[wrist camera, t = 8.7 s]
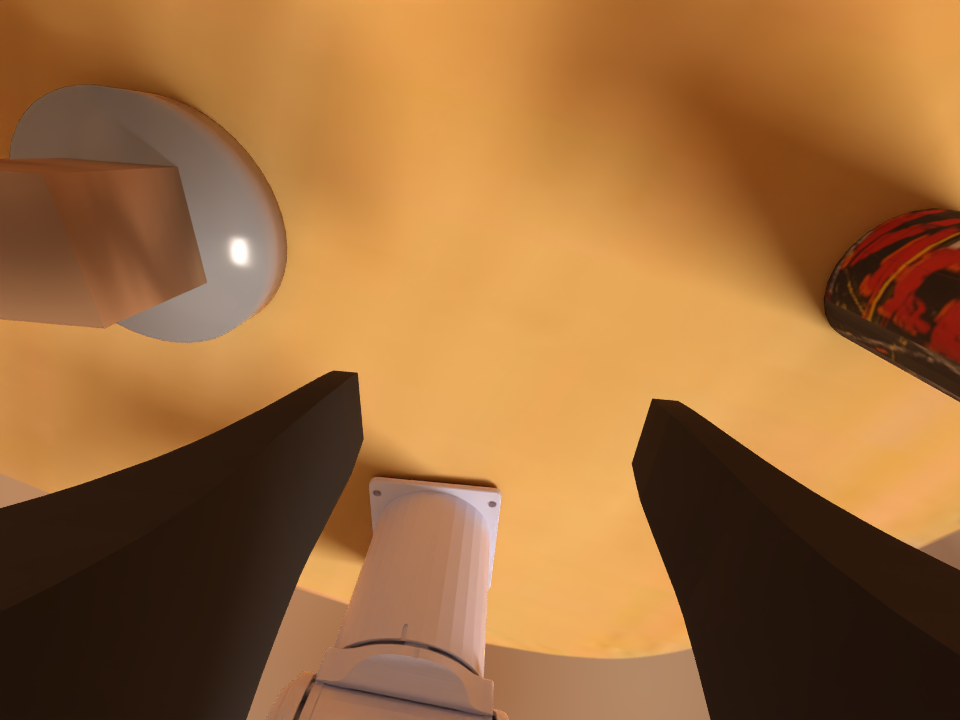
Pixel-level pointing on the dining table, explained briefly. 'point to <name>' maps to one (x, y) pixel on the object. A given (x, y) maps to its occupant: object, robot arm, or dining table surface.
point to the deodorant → (904, 296)
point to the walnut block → (92, 240)
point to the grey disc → (208, 190)
